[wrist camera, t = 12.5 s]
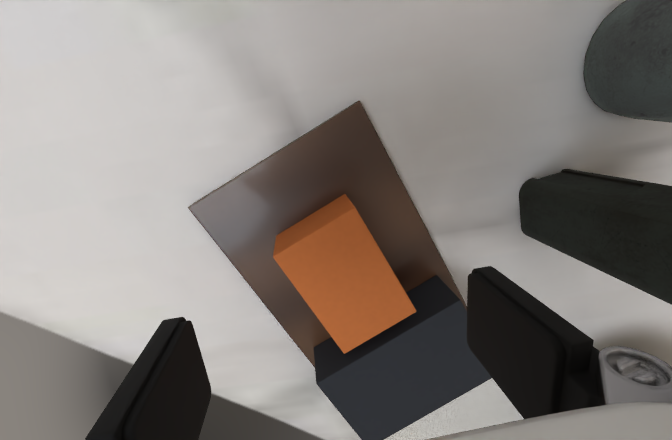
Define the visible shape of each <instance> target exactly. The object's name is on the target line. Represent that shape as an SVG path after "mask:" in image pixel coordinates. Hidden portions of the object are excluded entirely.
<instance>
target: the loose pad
mask: <svg viewBox="0 0 672 440" xmlns="http://www.w3.org/2000/svg"><path fill="white" fill-rule="evenodd" d="M273 258H274V259H275V261H276V262H277V263H278V265H279V266H280V268H281V269H282V270H283V272H284V273H285V274H286V276H287V277H288V278H289V280H290V281H291V282H292V284H293V285H294V287H295V288H296V289H297V291H298V292H299V293H300V295H301V296H302V297H303V299H304V300H305V302H306V303H307V304H308V306H309V307H310V308H311V310H312V311H313V312H314V314H315V315H316V316H317V318H318V319H319V321H320V322H321V323H322V325H323V326H324V327H325V329H326V330H327V331H328V333H329V334H330V336H331V337H332V338H333V340H334V341H335V342H336V344H337V345H338V346H339V348H340V349H341V350H342V352H343V353H344V354H345V353H347V352H349V351H350V350H352V349H354V348H355V347H357V346H359V345H360V344H362V343H364V342H366V341H367V340H369V339H371V338H372V337H374V336H376V335H378V334H379V333H381V332H383V331H384V330H386V329H388V328H390V327H391V326H393V325H395V324H396V323H398V322H400V321H401V320H403V319H405V318H407V317H408V316H410V315H412V314H413V313H415V312H416V309H415V307H414V306H413V304H412V302H411V300H410V299H409V297H408V295H407V294H406V292H405V290H404V289H403V287H402V285H401V284H400V282H399V280H398V279H397V277H396V275H395V274H394V272H393V270H392V268H391V267H390V265H389V263H388V262H387V260H386V258H385V257H384V255H383V253H382V252H381V250H380V248H379V247H378V245H377V243H376V241H375V240H374V238H373V236H372V235H371V233H370V231H369V230H368V228H367V226H366V225H365V223H364V221H363V220H362V218H361V216H360V214H359V213H358V211H357V209H356V208H355V206H354V205H353V204H352V202H351V201H350V200H349V198H348V197H347V196H346V194H344V195H342V196H340V197H339V198H337V199H336V200H334V201H332V202H331V203H329V204H327V205H326V206H324V207H322V208H321V209H319V210H317V211H316V212H314V213H313V214H311V215H309V216H308V217H306V218H304V219H303V220H301V221H299V222H298V223H296V224H295V225H293V226H291V227H290V228H288V229H286V230H285V231H283V232H281V233H280V234H278V235H277V236H276V240H275V247H274V253H273Z"/></svg>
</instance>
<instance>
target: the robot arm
mask: <svg viewBox="0 0 672 440" xmlns="http://www.w3.org/2000/svg"><path fill="white" fill-rule="evenodd" d="M593 341H594V340H592V339H591V338H590V337H588V336H587V335H585V334H584V333H583V332H581V331H580V330H579V329H577V328H576V327H574V326H573V325H572V324H570V323H569V322H568V321H566V320H565V319H563V318H562V317H561V316H559V315H558V314H557V313H555V312H554V311H552V310H551V309H550V308H548V307H547V306H546V305H544V304H543V303H541V302H540V301H539V300H537V299H536V298H535V297H533V296H532V295H530V294H529V293H528V292H526V291H525V290H524V289H522V288H521V287H519V286H518V285H517V284H515V283H514V282H513V281H511V280H510V279H508V278H507V277H506V276H504V275H503V274H502V273H500V272H499V271H497V270H496V269H495V268H493V267H491V266H488V267H482V268H476V269H474V270H473V271H472V274H469V275H468V294H467V343H468V346H469V348H470V350H471V351H472V352H473V354H474V355H475V356H476V358H477V359H478V360H479V361H480V363H481V364H482V365H483V367H484V368H485V369H486V370H487V372H488V373H489V374H490V376H491V377H492V378H493V379H494V381H495V382H496V383H497V385H498V386H499V387H500V388H501V390H502V391H503V392H504V393H505V395H506V396H507V397H508V399H509V400H510V401H511V402H512V404H513V405H514V406H515V408H516V409H517V410H518V411H519V413H520V414H521V415H522V417H523V418H524V419H523V420H518V421H513V422H508V423H504V424H499V425H494V426H489V427H484V428H479V429H474V430H469V431H465V432H460V433H455V434H450V435H445V436H440V437H435V438H431V439H426V440H672V367H671V366H669V365H668V364H667V363H666V362H664V361H662V360H660V359H659V358H657V357H655V356H653V355H651V354H648V353H646V352H644V351H640V350H637V349H633V348H628V347H622V346H611V347H607V348H604V349H602V350H601V351H598V350H597V349H596V348H594V347H593ZM210 398H211V386H210V383H209V379H208V376H207V372H206V369H205V366H204V362H203V359H202V355H201V352H200V348H199V345H198V342H197V338H196V335H195V331H194V328H193V325H192V322H191V321H186V319H185V318H184V317H179V318H173V319H167V320H163V321H162V322H161V324H160V326H159V327H158V329H157V330H156V332H155V333H154V335H153V336H152V338H151V339H150V341H149V342H148V344H147V345H146V347H145V348H144V350H143V351H142V353H141V354H140V356H139V358H138V359H137V361H136V362H135V364H134V365H133V367H132V368H131V370H130V371H129V373H128V375H127V376H126V377H125V379H124V380H123V382H122V383H121V385H120V387H119V388H118V390H117V391H116V393H115V394H114V396H113V397H112V399H111V400H110V402H109V403H108V405H107V407H106V408H105V409H104V411H103V412H102V414H101V416H100V417H99V418H98V420H97V422H96V423H95V425H94V426H93V428H92V429H91V431H90V432H89V434H88V435H87V437H86V438H85V439H86V440H198V438H199V435H200V432H201V428H202V425H203V422H204V418H205V415H206V412H207V408H208V405H209V401H210Z"/></svg>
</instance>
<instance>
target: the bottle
mask: <svg viewBox="0 0 672 440" xmlns="http://www.w3.org/2000/svg"><path fill="white" fill-rule="evenodd" d="M584 77H585V83H586V88H587V91H588V93H589V95H590V96H591V98H592V100H593V102H594V103H595V104H597V105H598V106H599V107H601V108H602V109H603V110H604V111H607V112H611V113H614V114H617V115H621V116H625V117H630V118H635V119H644V120H653V121H663V122H672V0H626V1H625V2H623V3H622V4H621V5H619V6H618V7H617V8H616V9H615V10H613V11H612V12H611V13H610V14H609V15H608V16H607V17H606V18H605V19H604V20H603V21H602V23H601V24H600V26H599V28H598V29H597V31H596V32H595V34H594V35H593V37H592V40H591V42H590V45H589V48H588V51H587V53H586V58H585V68H584Z"/></svg>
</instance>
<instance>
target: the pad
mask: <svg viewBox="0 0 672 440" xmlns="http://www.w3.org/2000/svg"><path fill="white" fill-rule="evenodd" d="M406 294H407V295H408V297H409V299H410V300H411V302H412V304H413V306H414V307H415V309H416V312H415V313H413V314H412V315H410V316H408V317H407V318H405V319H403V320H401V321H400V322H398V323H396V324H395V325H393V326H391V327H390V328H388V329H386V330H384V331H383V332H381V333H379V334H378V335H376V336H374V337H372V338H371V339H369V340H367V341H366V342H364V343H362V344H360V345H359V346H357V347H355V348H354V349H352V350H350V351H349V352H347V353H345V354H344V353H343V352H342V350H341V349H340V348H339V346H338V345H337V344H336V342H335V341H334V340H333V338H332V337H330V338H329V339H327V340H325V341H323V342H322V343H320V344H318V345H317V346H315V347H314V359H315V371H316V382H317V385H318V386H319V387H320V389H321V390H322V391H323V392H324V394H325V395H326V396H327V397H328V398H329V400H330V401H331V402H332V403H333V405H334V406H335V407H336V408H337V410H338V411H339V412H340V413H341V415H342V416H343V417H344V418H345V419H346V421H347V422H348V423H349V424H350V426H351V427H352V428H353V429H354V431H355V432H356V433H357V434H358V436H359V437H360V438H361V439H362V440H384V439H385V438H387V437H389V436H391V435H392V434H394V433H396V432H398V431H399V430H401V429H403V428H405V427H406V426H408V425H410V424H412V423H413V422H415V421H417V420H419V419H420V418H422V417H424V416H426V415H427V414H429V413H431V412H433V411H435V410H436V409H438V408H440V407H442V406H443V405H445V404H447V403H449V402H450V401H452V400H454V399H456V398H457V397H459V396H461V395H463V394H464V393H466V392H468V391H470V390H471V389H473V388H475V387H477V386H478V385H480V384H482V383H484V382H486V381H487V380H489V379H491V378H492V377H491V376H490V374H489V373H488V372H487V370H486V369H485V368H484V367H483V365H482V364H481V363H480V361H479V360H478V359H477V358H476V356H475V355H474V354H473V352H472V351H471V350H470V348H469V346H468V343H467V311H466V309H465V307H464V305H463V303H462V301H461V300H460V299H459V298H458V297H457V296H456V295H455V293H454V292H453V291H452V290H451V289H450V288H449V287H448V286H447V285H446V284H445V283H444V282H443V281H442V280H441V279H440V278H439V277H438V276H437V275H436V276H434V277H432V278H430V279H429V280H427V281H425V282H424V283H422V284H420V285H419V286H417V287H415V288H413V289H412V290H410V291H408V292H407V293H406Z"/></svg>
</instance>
